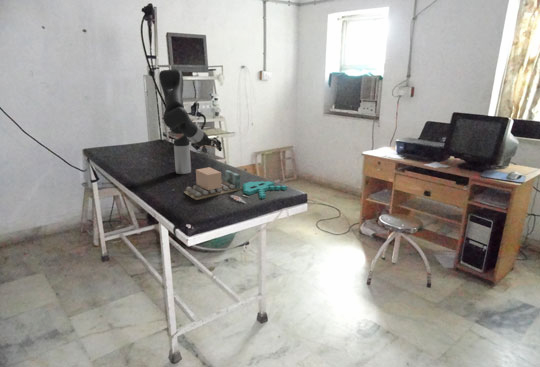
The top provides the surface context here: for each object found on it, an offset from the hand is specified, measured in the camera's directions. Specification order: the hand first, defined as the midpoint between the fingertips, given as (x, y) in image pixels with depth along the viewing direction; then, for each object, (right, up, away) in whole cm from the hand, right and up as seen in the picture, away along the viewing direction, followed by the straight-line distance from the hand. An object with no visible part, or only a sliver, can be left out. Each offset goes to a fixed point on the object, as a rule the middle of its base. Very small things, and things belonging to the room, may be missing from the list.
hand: (213, 150), depth 188 cm
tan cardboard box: (-3, -18, +4) cm, 19 cm away
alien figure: (+24, -21, +10) cm, 33 cm away
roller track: (-1, -21, +7) cm, 22 cm away
